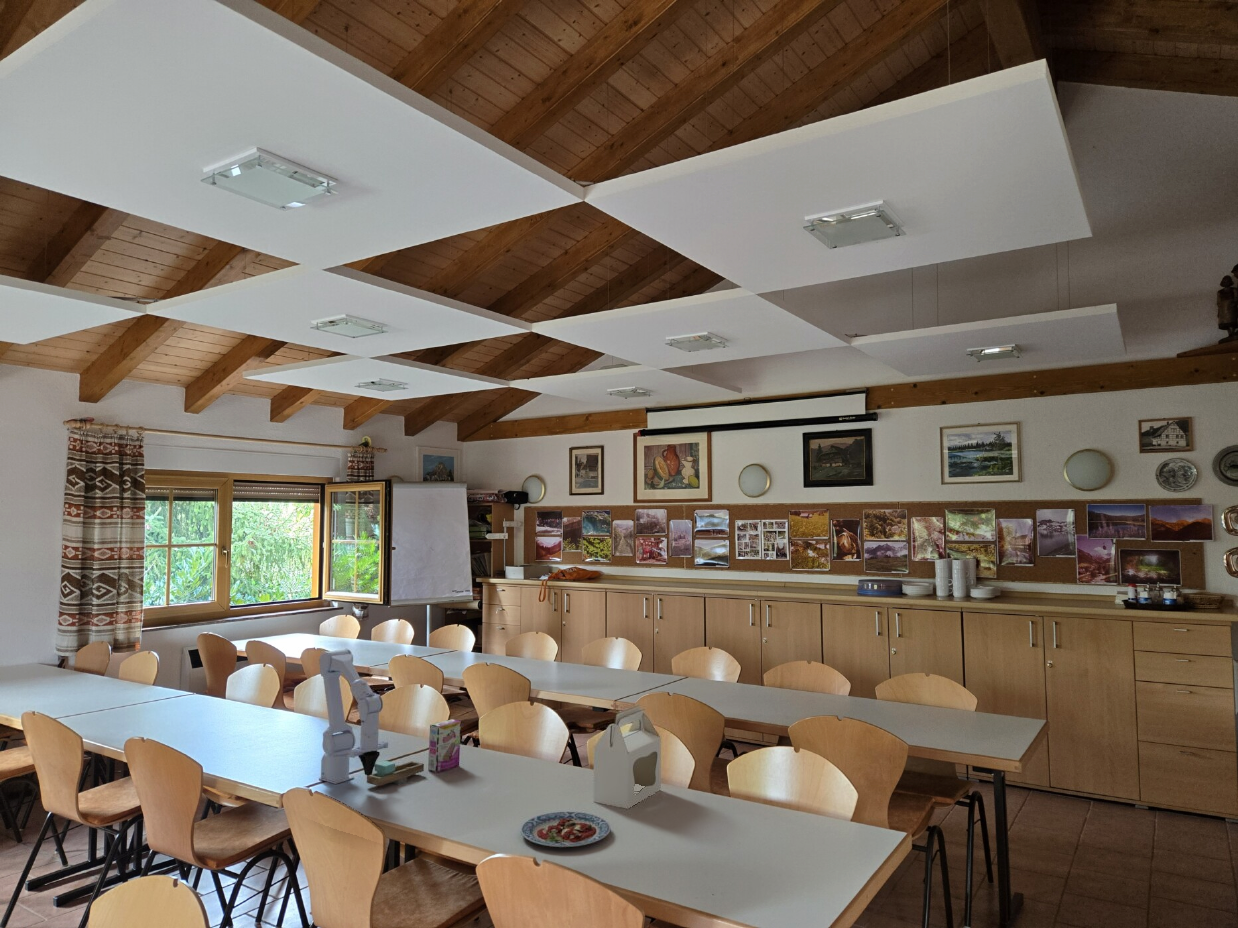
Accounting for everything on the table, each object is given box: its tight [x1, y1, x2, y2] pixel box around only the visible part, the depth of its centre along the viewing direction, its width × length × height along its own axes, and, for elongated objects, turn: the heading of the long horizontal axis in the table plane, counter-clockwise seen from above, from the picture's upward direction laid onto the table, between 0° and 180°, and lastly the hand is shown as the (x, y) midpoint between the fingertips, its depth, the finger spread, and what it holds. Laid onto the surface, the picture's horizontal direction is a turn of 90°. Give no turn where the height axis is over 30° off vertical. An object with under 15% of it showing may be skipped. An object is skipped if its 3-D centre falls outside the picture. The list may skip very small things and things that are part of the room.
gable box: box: [592, 704, 662, 810], centre depth 266 cm, size 22×13×28 cm, turn 149°
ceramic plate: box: [520, 811, 611, 848], centre depth 232 cm, size 26×26×3 cm
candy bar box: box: [427, 718, 462, 774], centre depth 293 cm, size 11×5×16 cm, turn 144°
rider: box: [374, 760, 396, 777], centre depth 274 cm, size 5×4×5 cm
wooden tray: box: [366, 760, 425, 787], centre depth 278 cm, size 7×20×4 cm, turn 147°
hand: (368, 774), depth 268 cm, fingers closed
